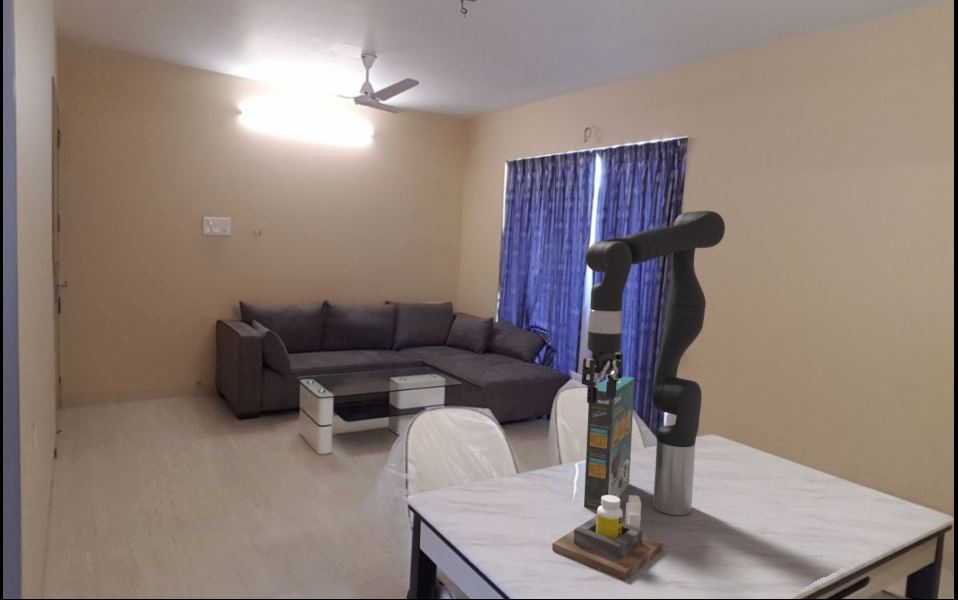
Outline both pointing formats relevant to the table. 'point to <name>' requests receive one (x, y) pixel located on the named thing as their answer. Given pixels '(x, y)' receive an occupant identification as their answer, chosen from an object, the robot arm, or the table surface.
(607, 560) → the wooden board with frame
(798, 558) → the table surface
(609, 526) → the supplement bottle
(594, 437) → the cake mix box
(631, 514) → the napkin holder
